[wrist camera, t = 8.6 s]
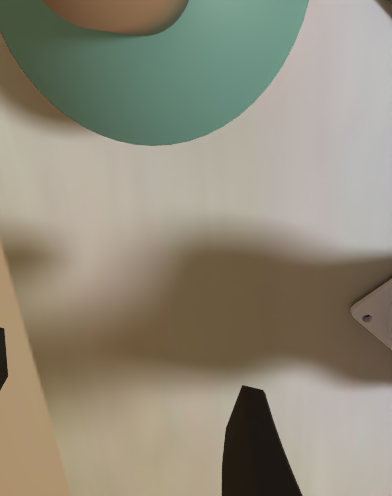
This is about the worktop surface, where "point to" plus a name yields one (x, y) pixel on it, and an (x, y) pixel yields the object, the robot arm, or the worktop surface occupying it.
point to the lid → (151, 60)
